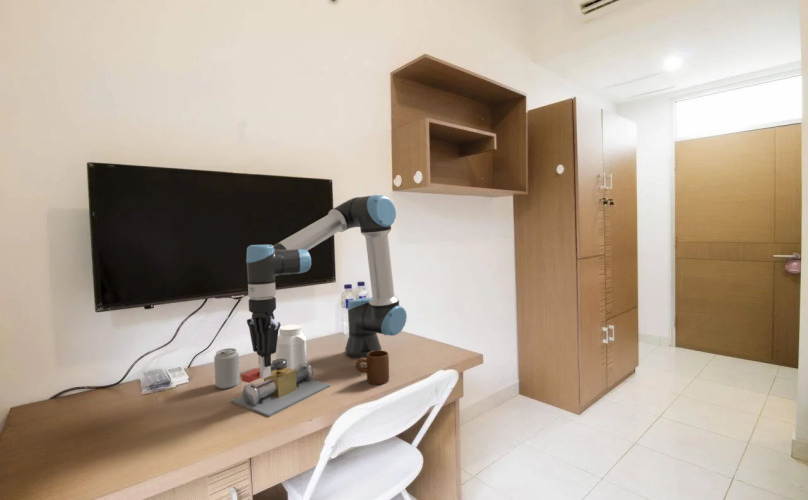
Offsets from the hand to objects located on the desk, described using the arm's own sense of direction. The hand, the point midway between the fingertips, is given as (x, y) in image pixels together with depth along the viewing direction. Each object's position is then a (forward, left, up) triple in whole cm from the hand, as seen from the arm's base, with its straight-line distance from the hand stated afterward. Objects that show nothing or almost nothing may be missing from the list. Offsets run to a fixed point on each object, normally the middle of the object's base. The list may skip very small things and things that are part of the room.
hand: (265, 376), depth 113 cm
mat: (-8, -3, -9) cm, 12 cm away
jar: (-27, -21, -9) cm, 35 cm away
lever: (-3, -3, -1) cm, 4 cm away
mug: (-30, +16, -9) cm, 35 cm away
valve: (-8, -4, -9) cm, 13 cm away
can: (-3, -25, -9) cm, 27 cm away
